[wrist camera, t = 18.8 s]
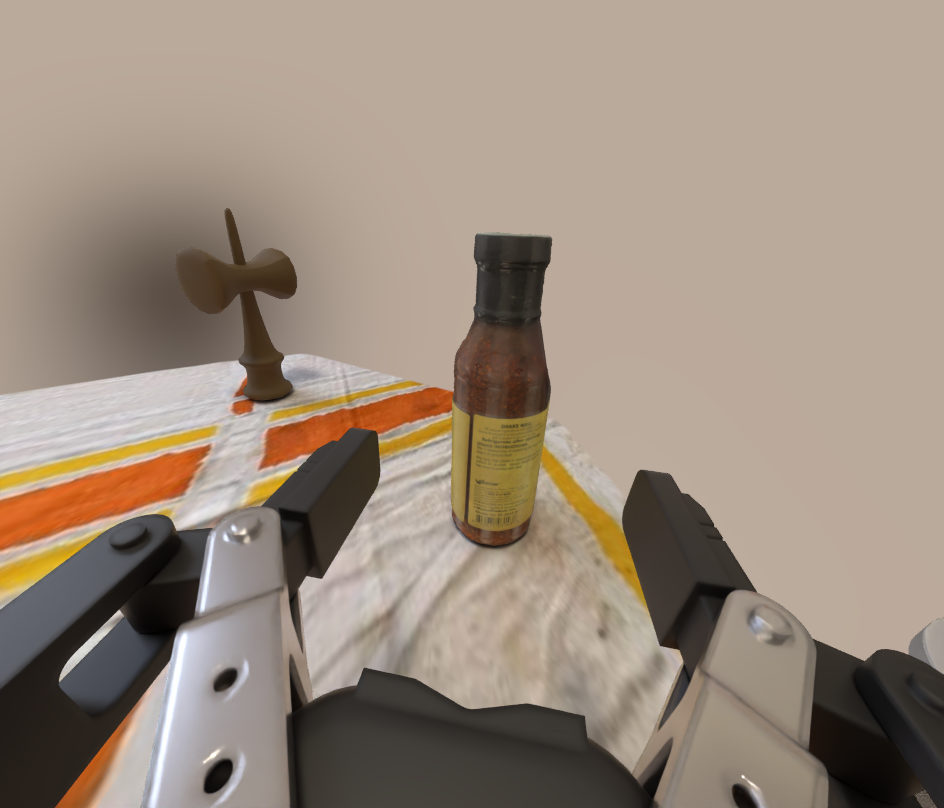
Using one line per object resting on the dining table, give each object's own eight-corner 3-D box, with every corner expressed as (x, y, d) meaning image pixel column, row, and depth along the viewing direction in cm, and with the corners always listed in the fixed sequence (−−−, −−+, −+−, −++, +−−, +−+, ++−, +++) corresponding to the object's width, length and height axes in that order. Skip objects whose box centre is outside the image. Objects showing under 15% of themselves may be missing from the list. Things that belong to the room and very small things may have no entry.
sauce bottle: (544, 516, 27) (607, 240, 18) (497, 567, 22) (549, 235, 13) (480, 478, 30) (505, 231, 21) (429, 516, 26) (434, 226, 17)
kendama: (213, 404, 39) (148, 201, 29) (284, 376, 47) (250, 210, 37) (251, 417, 37) (195, 205, 28) (318, 385, 45) (291, 213, 36)
